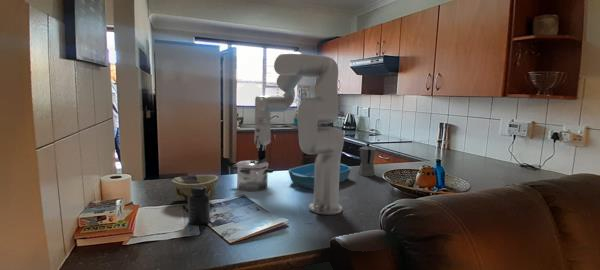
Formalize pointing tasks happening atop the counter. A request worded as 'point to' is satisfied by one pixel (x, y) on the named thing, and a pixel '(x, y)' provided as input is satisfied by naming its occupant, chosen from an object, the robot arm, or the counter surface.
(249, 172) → the pot
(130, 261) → the counter surface
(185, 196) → the bowl
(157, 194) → the counter surface
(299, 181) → the casserole dish
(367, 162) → the coffeepot
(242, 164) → the lid
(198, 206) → the supplement bottle
